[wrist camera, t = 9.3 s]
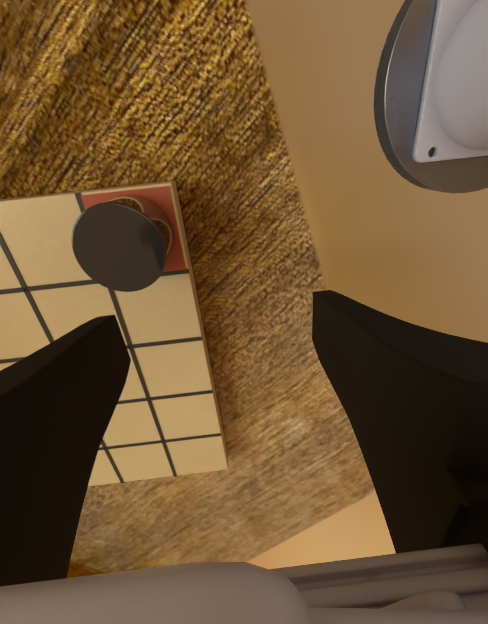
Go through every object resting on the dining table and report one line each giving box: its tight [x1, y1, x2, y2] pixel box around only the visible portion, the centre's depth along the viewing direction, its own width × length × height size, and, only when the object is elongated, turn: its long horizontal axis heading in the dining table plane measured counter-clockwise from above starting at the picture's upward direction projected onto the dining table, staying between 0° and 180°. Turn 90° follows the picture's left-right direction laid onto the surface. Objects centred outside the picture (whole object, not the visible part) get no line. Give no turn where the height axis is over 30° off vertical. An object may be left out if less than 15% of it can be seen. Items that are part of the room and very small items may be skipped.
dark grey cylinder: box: [71, 194, 175, 292], centre depth 15 cm, size 4×4×3 cm
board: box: [0, 180, 228, 486], centre depth 22 cm, size 20×25×2 cm
